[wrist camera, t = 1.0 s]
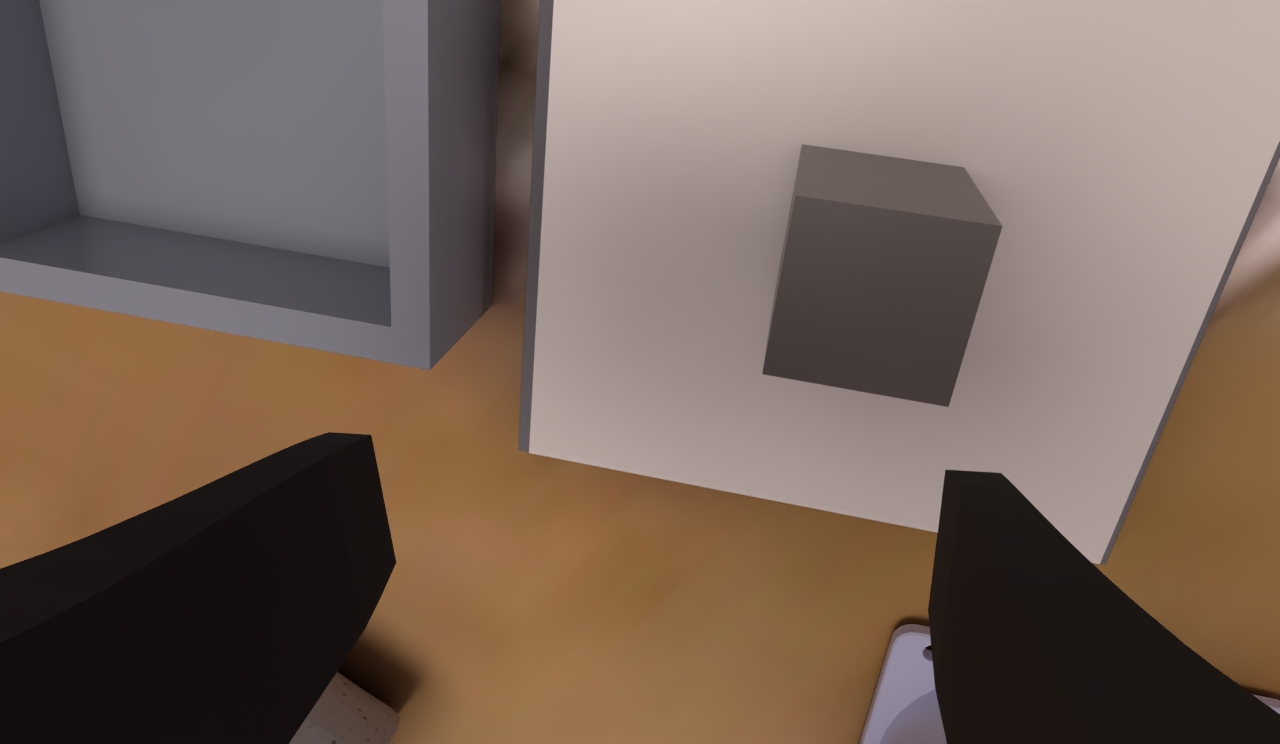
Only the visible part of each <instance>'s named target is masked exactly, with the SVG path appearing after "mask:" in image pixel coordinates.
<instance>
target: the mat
mask: <svg viewBox="0 0 1280 744" xmlns="http://www.w3.org/2000/svg"><path fill="white" fill-rule="evenodd" d="M553 5H554V0H540V14H539V35H538V55H537V76H536V97H535V117H534V138H533V158H532V179H531V200H530V220H529V241H528V262H527V282H526V303H525V323H524V344H523V365H522V385H521V406H520V427H519V447H518V450H520V451H525V452H529V442H530V424H531V406H532V388H533V369H534V351H535V333H536V315H537V296H538V278H539V260H540V242H541V224H542V205H543V187H544V169H545V151H546V132H547V114H548V96H549V78H550V60H551V41H552V23H553ZM1279 158H1280V141H1279V143H1278V146H1277V148H1276V150H1275V153H1274V155H1273V157H1272V160H1271V162H1270V165H1269V167H1268V169H1267V172H1266V174H1265V176H1264V179H1263V181H1262V183H1261V186H1260V188H1259V190H1258V193H1257V195H1256V197H1255V200H1254V202H1253V205H1252V207H1251V209H1250V212H1249V214H1248V216H1247V219H1246V221H1245V223H1244V226H1243V228H1242V230H1241V233H1240V235H1239V237H1238V240H1237V242H1236V245H1235V247H1234V249H1233V252H1232V254H1231V256H1230V259H1229V261H1228V263H1227V266H1226V268H1225V270H1224V273H1223V275H1222V277H1221V280H1220V282H1219V285H1218V287H1217V289H1216V292H1215V294H1214V296H1213V299H1212V301H1211V303H1210V306H1209V308H1208V310H1207V313H1206V315H1205V317H1204V320H1203V322H1202V325H1201V327H1200V329H1199V332H1198V334H1197V336H1196V339H1195V341H1194V343H1193V346H1192V348H1191V350H1190V353H1189V355H1188V357H1187V360H1186V362H1185V365H1184V367H1183V369H1182V372H1181V374H1180V376H1179V379H1178V381H1177V383H1176V386H1175V388H1174V390H1173V393H1172V395H1171V397H1170V400H1169V402H1168V405H1167V407H1166V409H1165V412H1164V414H1163V416H1162V419H1161V421H1160V423H1159V426H1158V428H1157V430H1156V433H1155V435H1154V437H1153V440H1152V442H1151V445H1150V447H1149V449H1148V452H1147V454H1146V456H1145V459H1144V461H1143V463H1142V466H1141V468H1140V470H1139V473H1138V475H1137V477H1136V480H1135V482H1134V485H1133V487H1132V489H1131V492H1130V494H1129V496H1128V499H1127V501H1126V503H1125V506H1124V508H1123V510H1122V513H1121V515H1120V517H1119V520H1118V522H1117V525H1116V527H1115V529H1114V532H1113V534H1112V536H1111V539H1110V541H1109V543H1108V546H1107V548H1106V550H1105V553H1104V555H1103V557H1102V560H1101V562H1100V563H1101V564H1106V562H1107V559H1108V557H1109V555H1110V552H1111V550H1112V548H1113V545H1114V543H1115V541H1116V538H1117V536H1118V534H1119V531H1120V529H1121V527H1122V524H1123V522H1124V520H1125V517H1126V515H1127V513H1128V510H1129V508H1130V506H1131V503H1132V501H1133V499H1134V496H1135V494H1136V492H1137V489H1138V487H1139V485H1140V482H1141V480H1142V478H1143V475H1144V473H1145V471H1146V468H1147V466H1148V464H1149V461H1150V459H1151V457H1152V454H1153V452H1154V450H1155V447H1156V445H1157V443H1158V440H1159V438H1160V436H1161V433H1162V431H1163V429H1164V426H1165V424H1166V422H1167V419H1168V417H1169V415H1170V412H1171V410H1172V408H1173V405H1174V403H1175V401H1176V398H1177V396H1178V394H1179V391H1180V389H1181V387H1182V384H1183V382H1184V380H1185V377H1186V375H1187V373H1188V370H1189V368H1190V366H1191V363H1192V361H1193V359H1194V356H1195V354H1196V352H1197V349H1198V347H1199V345H1200V342H1201V340H1202V338H1203V335H1204V333H1205V331H1206V328H1207V326H1208V324H1209V321H1210V319H1211V317H1212V314H1213V312H1214V310H1215V307H1216V305H1217V303H1218V300H1219V298H1220V296H1221V293H1222V291H1223V289H1224V286H1225V284H1226V282H1227V280H1228V277H1229V275H1230V273H1231V270H1232V268H1233V266H1234V263H1235V261H1236V259H1237V256H1238V254H1239V252H1240V249H1241V247H1242V245H1243V242H1244V240H1245V238H1246V235H1247V233H1248V231H1249V228H1250V226H1251V224H1252V221H1253V219H1254V217H1255V214H1256V212H1257V210H1258V207H1259V205H1260V203H1261V200H1262V198H1263V196H1264V193H1265V191H1266V189H1267V186H1268V184H1269V182H1270V179H1271V177H1272V175H1273V172H1274V170H1275V168H1276V165H1277V163H1278V161H1279Z"/></svg>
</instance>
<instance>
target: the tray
mask: <svg viewBox="0 0 1280 744" xmlns="http://www.w3.org/2000/svg"><path fill="white" fill-rule="evenodd" d="M499 30H500V0H0V291H2V292H7V293H12V294H18V295H23V296H29V297H34V298H40V299H45V300H51V301H56V302H61V303H67V304H72V305H78V306H83V307H89V308H94V309H100V310H105V311H110V312H116V313H121V314H127V315H132V316H138V317H143V318H148V319H154V320H159V321H165V322H170V323H176V324H181V325H187V326H192V327H197V328H203V329H208V330H214V331H219V332H225V333H230V334H236V335H241V336H246V337H252V338H257V339H263V340H268V341H274V342H279V343H285V344H290V345H295V346H301V347H306V348H312V349H317V350H323V351H328V352H333V353H339V354H344V355H350V356H355V357H361V358H366V359H372V360H377V361H382V362H388V363H393V364H399V365H404V366H410V367H415V368H421V369H426V370H431V368H432V367H433V366H434V365H435V364H436V363H437V362H438V361H439V360H440V359H441V358H442V357H443V356H444V355H445V354H446V353H447V352H448V351H449V350H450V349H451V348H452V346H453V345H454V344H455V343H456V342H457V341H458V340H459V339H460V338H461V337H462V336H463V335H464V334H465V333H466V332H467V331H468V330H469V329H470V328H471V327H472V326H473V324H474V323H475V322H476V321H477V320H478V319H479V318H480V317H481V316H482V315H483V314H484V313H485V312H486V311H487V310H488V309H489V308H490V307H491V306H492V271H493V237H494V202H495V168H496V134H497V99H498V65H499Z"/></svg>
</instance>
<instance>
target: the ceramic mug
mask: <svg viewBox="0 0 1280 744" xmlns="http://www.w3.org/2000/svg"><path fill="white" fill-rule="evenodd" d="M398 724H399V716H398V714H397V713H396V712H395V711H394V710H393V709H392V708H391V707H389V706H388V705H386V704H384V703H383V702H381V701H380V700H378V699H377V698H375V697H374V696H372V695H371V694H369V693H367V692H366V691H364V690H363V689H362V688H360V687H359V686H357V685H356V684H354V683H353V682H351V681H350V680H348V679H347V678H346V677H344V676H343V675H341V674H340V673H338V672H337V673H336V674H335V676H334V677H333V679H332V680H331V682H330V683H329V685H328V686H327V688H326V689H325V691H324V692H323V694H322V695H321V697H320V698H319V700H318V701H317V703H316V704H315V706H314V707H313V709H312V710H311V712H310V713H309V715H308V716H307V718H306V719H305V721H304V722H303V723H302V725H301V726H300V728H299V729H298V731H297V732H296V734H295V735H294V737H293V738H292V740H291V741H290V743H289V744H390V742H391V740H392V738H393V736H394V735H395V733H396V732H397V728H398Z"/></svg>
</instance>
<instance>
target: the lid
mask: <svg viewBox="0 0 1280 744" xmlns="http://www.w3.org/2000/svg"><path fill="white" fill-rule="evenodd" d="M1279 141H1280V0H554V5H553V23H552V41H551V60H550V78H549V96H548V114H547V132H546V151H545V169H544V187H543V205H542V224H541V242H540V260H539V278H538V296H537V315H536V333H535V351H534V369H533V388H532V406H531V424H530V442H529V453H531V454H536V455H541V456H547V457H552V458H557V459H562V460H567V461H572V462H577V463H583V464H588V465H593V466H598V467H603V468H608V469H613V470H619V471H624V472H629V473H634V474H639V475H644V476H649V477H654V478H660V479H665V480H670V481H675V482H680V483H685V484H690V485H696V486H701V487H706V488H711V489H716V490H721V491H726V492H732V493H737V494H742V495H747V496H752V497H757V498H762V499H768V500H773V501H778V502H783V503H788V504H793V505H798V506H804V507H809V508H814V509H819V510H824V511H829V512H834V513H840V514H845V515H850V516H855V517H860V518H865V519H870V520H876V521H881V522H886V523H891V524H896V525H901V526H906V527H911V528H917V529H922V530H927V531H932V532H937V533H938V526H939V518H940V510H941V501H942V493H943V485H944V477H945V470H961V471H978V472H994V473H1002V474H1003V475H1004V476H1005V477H1006V478H1007V479H1008V480H1009V481H1010V482H1011V483H1012V484H1013V485H1014V486H1015V487H1016V488H1017V489H1018V490H1019V491H1020V492H1021V493H1022V494H1023V495H1024V496H1025V497H1026V498H1027V499H1028V500H1029V501H1030V502H1031V503H1032V504H1033V505H1034V506H1035V507H1036V508H1037V509H1038V511H1039V512H1040V513H1041V514H1042V515H1043V516H1044V517H1045V518H1046V519H1047V520H1048V521H1049V522H1050V523H1051V524H1052V525H1053V526H1054V527H1055V528H1056V529H1057V530H1058V531H1059V532H1060V533H1061V534H1062V535H1063V536H1064V537H1065V538H1066V539H1067V540H1068V541H1069V542H1070V543H1071V544H1072V545H1073V546H1074V547H1075V548H1076V549H1078V550H1079V551H1080V552H1081V553H1082V554H1083V555H1084V556H1085V557H1086V558H1087V559H1088V560H1089V561H1090V562H1091V563H1097V564H1100V562H1101V560H1102V557H1103V555H1104V553H1105V550H1106V548H1107V546H1108V543H1109V541H1110V539H1111V536H1112V534H1113V532H1114V529H1115V527H1116V525H1117V522H1118V520H1119V517H1120V515H1121V513H1122V510H1123V508H1124V506H1125V503H1126V501H1127V499H1128V496H1129V494H1130V492H1131V489H1132V487H1133V485H1134V482H1135V480H1136V477H1137V475H1138V473H1139V470H1140V468H1141V466H1142V463H1143V461H1144V459H1145V456H1146V454H1147V452H1148V449H1149V447H1150V445H1151V442H1152V440H1153V437H1154V435H1155V433H1156V430H1157V428H1158V426H1159V423H1160V421H1161V419H1162V416H1163V414H1164V412H1165V409H1166V407H1167V405H1168V402H1169V400H1170V397H1171V395H1172V393H1173V390H1174V388H1175V386H1176V383H1177V381H1178V379H1179V376H1180V374H1181V372H1182V369H1183V367H1184V365H1185V362H1186V360H1187V357H1188V355H1189V353H1190V350H1191V348H1192V346H1193V343H1194V341H1195V339H1196V336H1197V334H1198V332H1199V329H1200V327H1201V325H1202V322H1203V320H1204V317H1205V315H1206V313H1207V310H1208V308H1209V306H1210V303H1211V301H1212V299H1213V296H1214V294H1215V292H1216V289H1217V287H1218V285H1219V282H1220V280H1221V277H1222V275H1223V273H1224V270H1225V268H1226V266H1227V263H1228V261H1229V259H1230V256H1231V254H1232V252H1233V249H1234V247H1235V245H1236V242H1237V240H1238V237H1239V235H1240V233H1241V230H1242V228H1243V226H1244V223H1245V221H1246V219H1247V216H1248V214H1249V212H1250V209H1251V207H1252V205H1253V202H1254V200H1255V197H1256V195H1257V193H1258V190H1259V188H1260V186H1261V183H1262V181H1263V179H1264V176H1265V174H1266V172H1267V169H1268V167H1269V165H1270V162H1271V160H1272V157H1273V155H1274V153H1275V150H1276V148H1277V146H1278V143H1279Z"/></svg>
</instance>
